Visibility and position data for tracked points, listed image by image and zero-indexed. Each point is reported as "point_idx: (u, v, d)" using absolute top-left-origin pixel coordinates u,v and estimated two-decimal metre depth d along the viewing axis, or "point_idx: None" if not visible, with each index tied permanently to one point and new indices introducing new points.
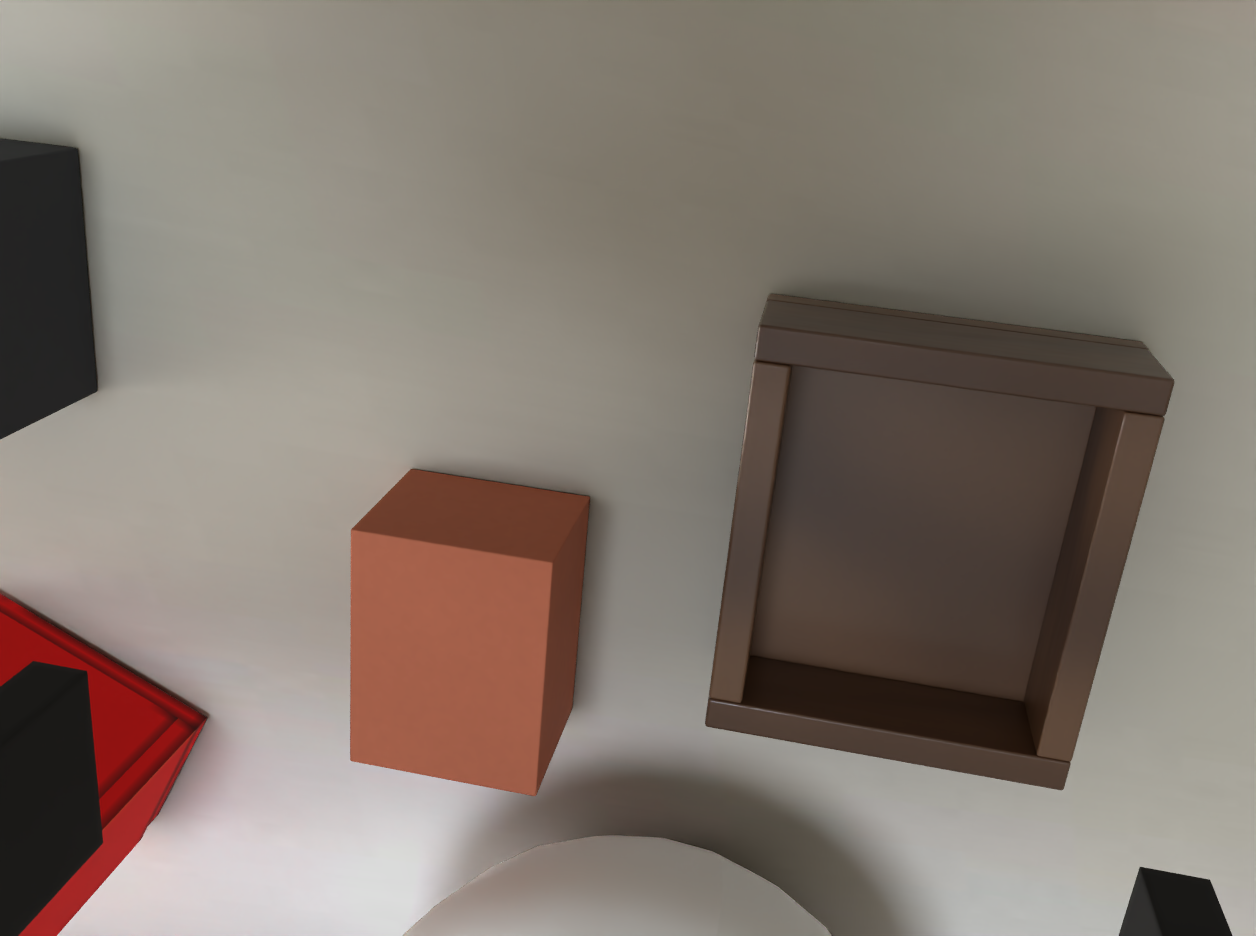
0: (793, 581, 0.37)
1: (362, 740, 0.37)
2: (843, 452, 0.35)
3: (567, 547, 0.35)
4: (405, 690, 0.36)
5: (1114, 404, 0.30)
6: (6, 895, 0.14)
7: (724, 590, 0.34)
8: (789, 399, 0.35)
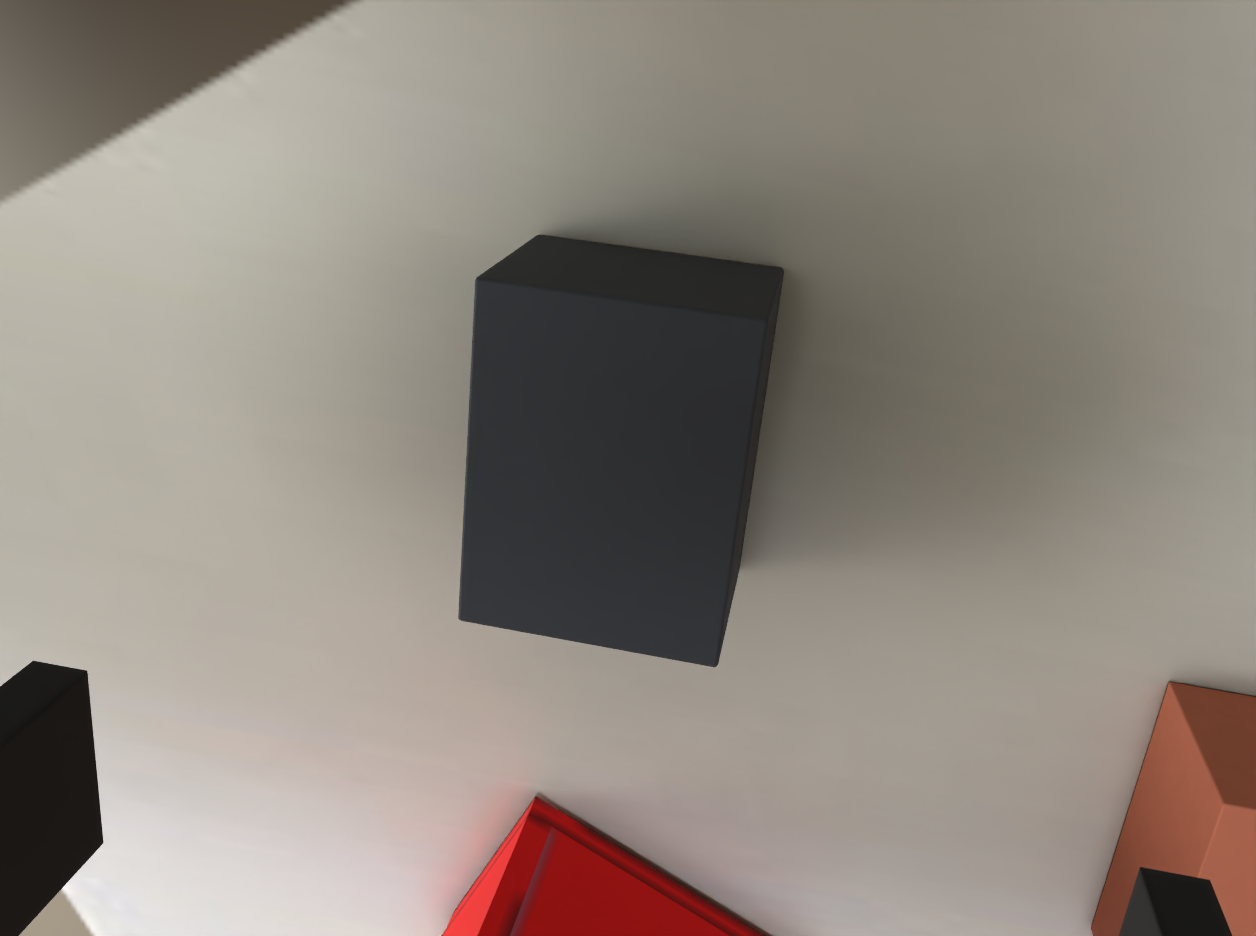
0: None
1: None
2: None
3: None
4: None
5: None
6: (6, 895, 0.14)
7: None
8: None
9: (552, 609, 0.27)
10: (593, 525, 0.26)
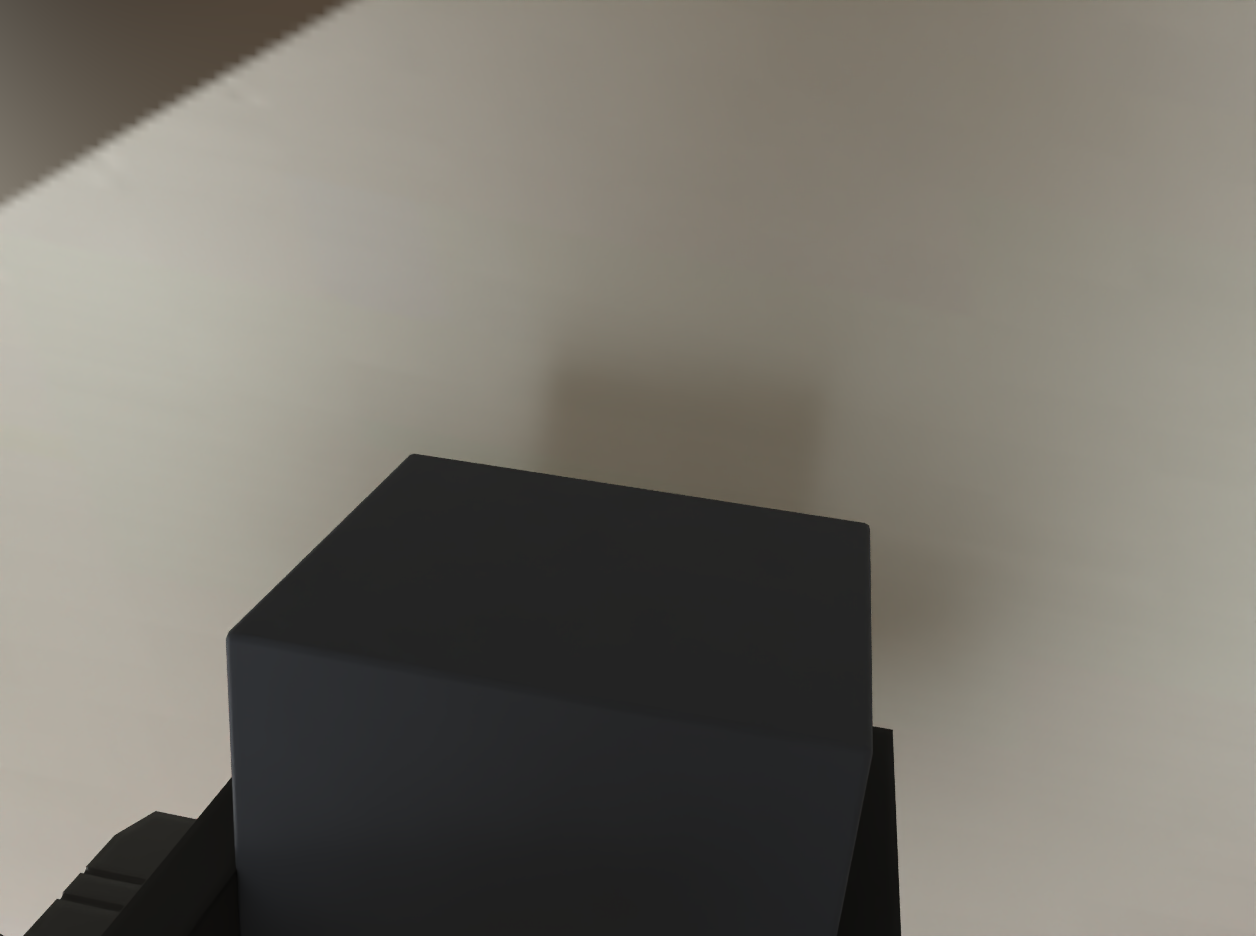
0: None
1: None
2: None
3: None
4: None
5: None
6: None
7: None
8: None
9: None
10: None
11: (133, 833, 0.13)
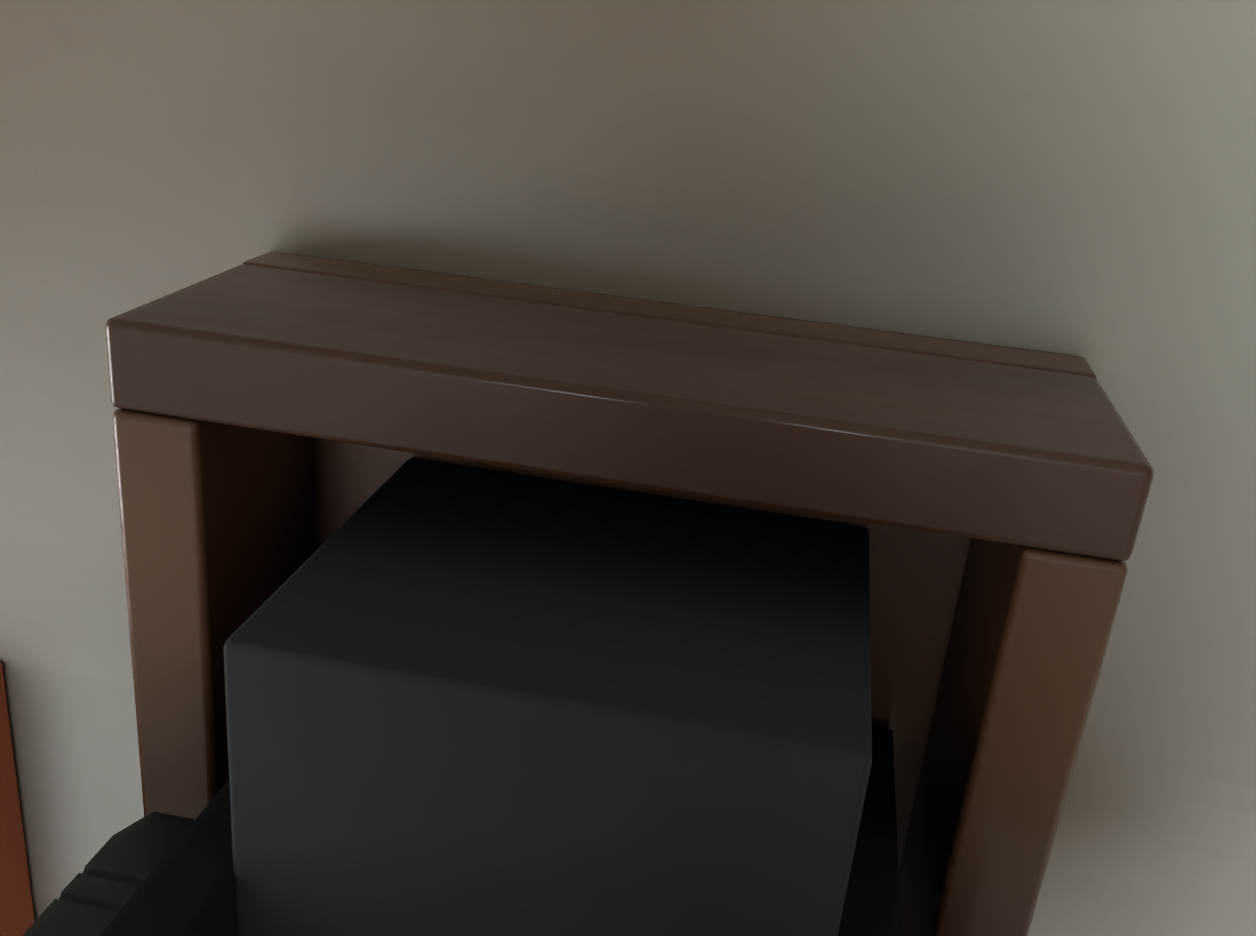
0: None
1: None
2: None
3: None
4: None
5: (994, 530, 0.11)
6: None
7: None
8: (320, 482, 0.16)
9: None
10: None
11: (132, 833, 0.13)
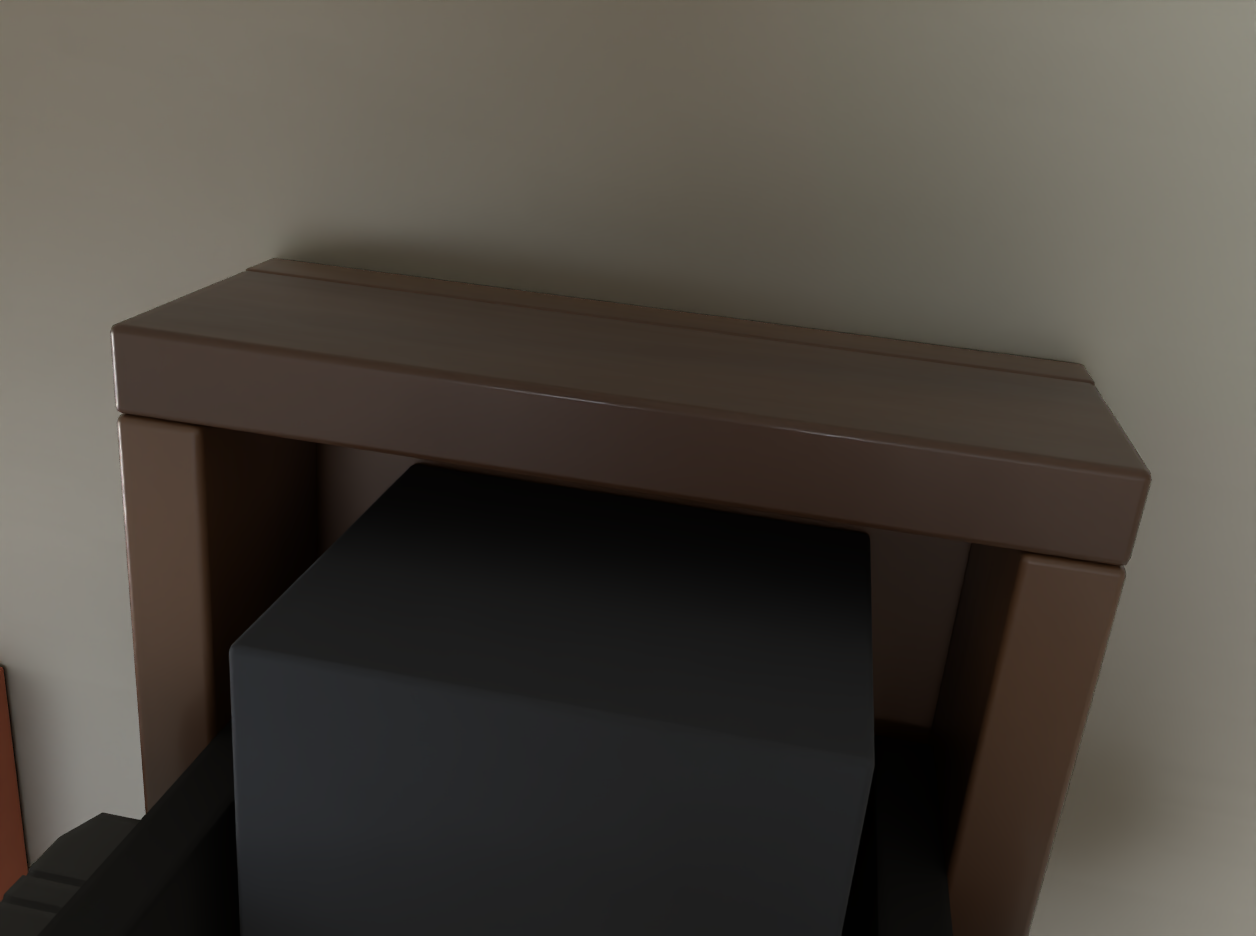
0: None
1: None
2: None
3: None
4: None
5: (994, 535, 0.11)
6: None
7: None
8: (322, 488, 0.16)
9: None
10: None
11: (78, 835, 0.13)
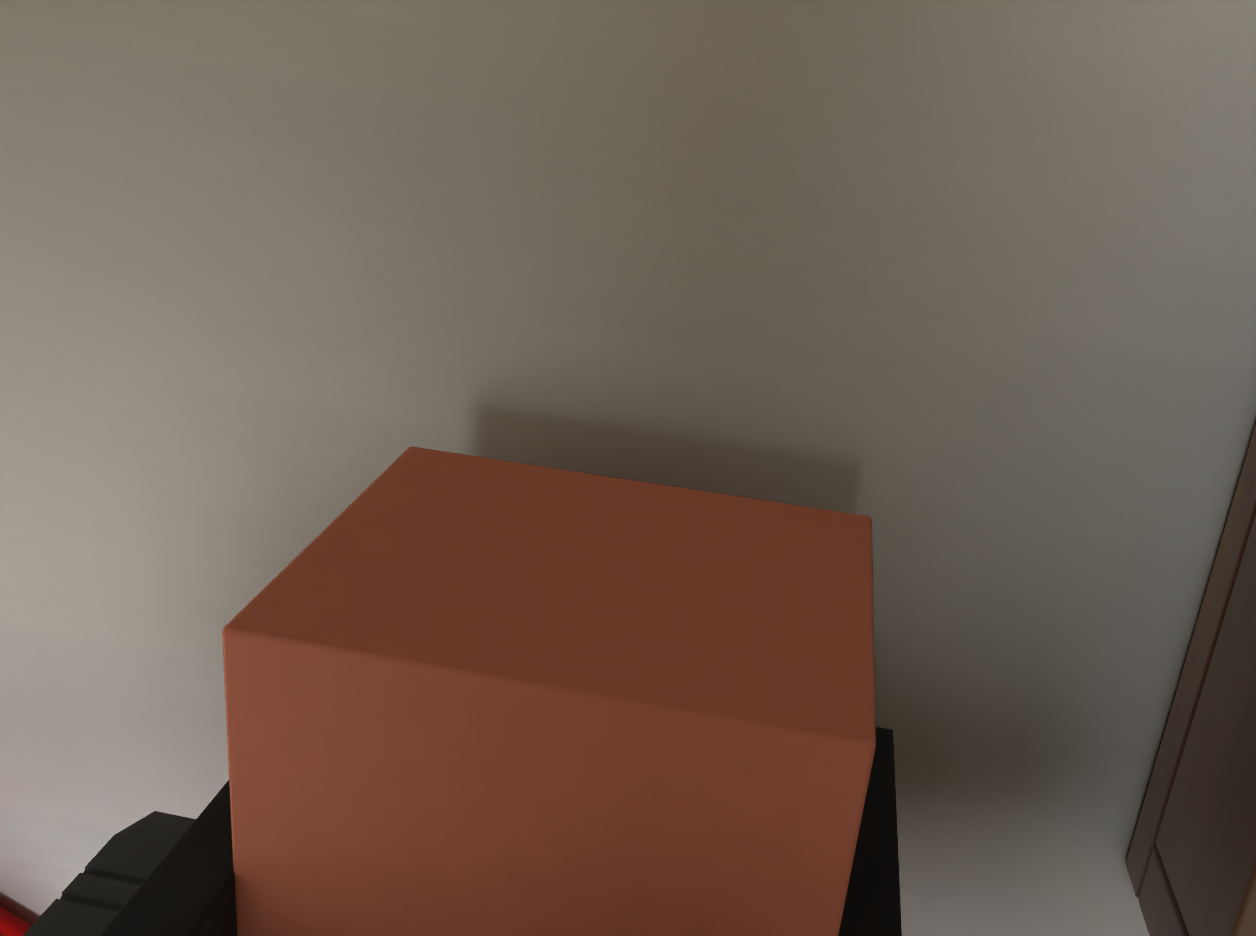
0: None
1: None
2: None
3: None
4: None
5: None
6: None
7: None
8: None
9: None
10: None
11: (132, 833, 0.13)
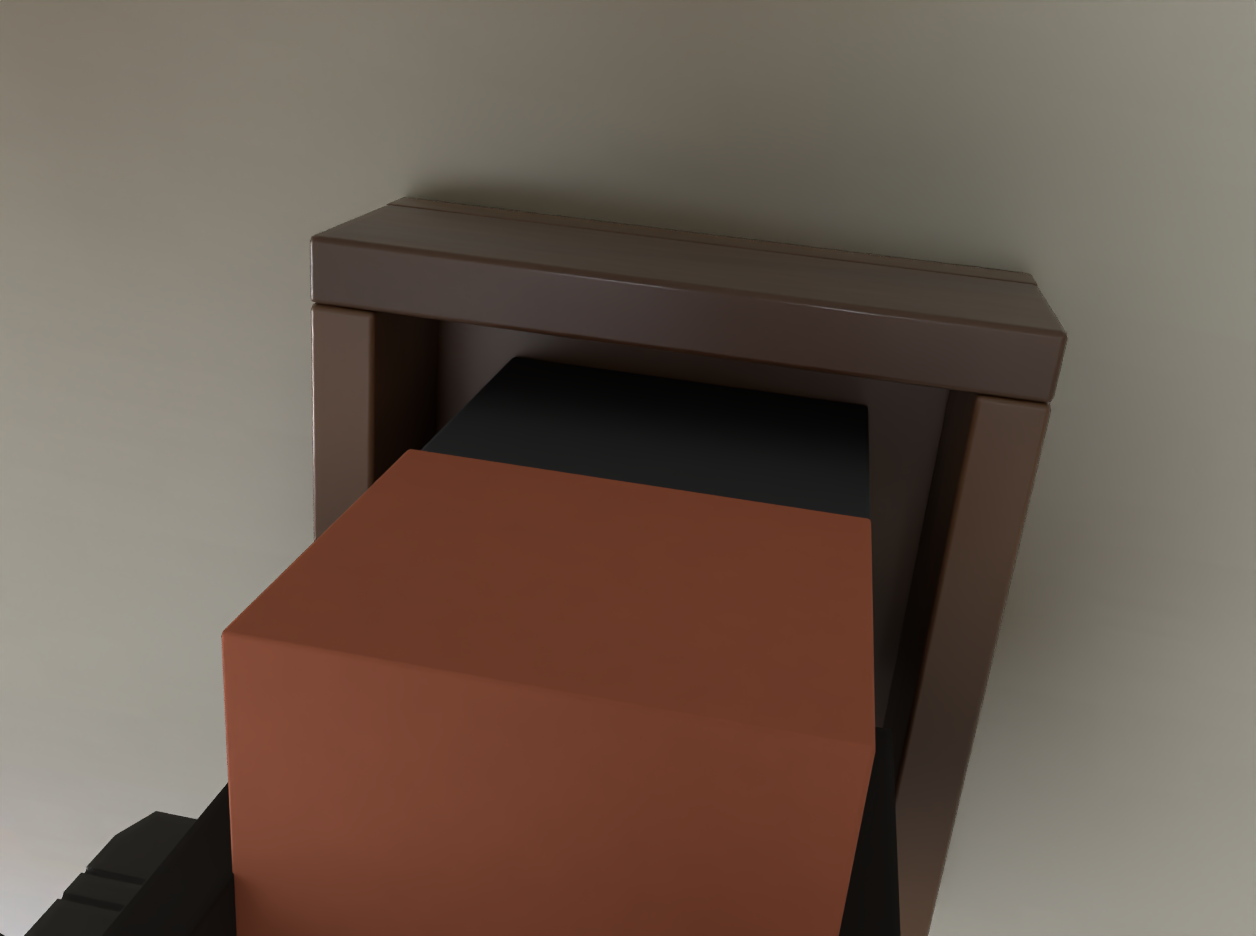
0: None
1: None
2: None
3: None
4: None
5: (956, 381, 0.16)
6: None
7: None
8: (440, 377, 0.21)
9: None
10: None
11: (133, 833, 0.13)
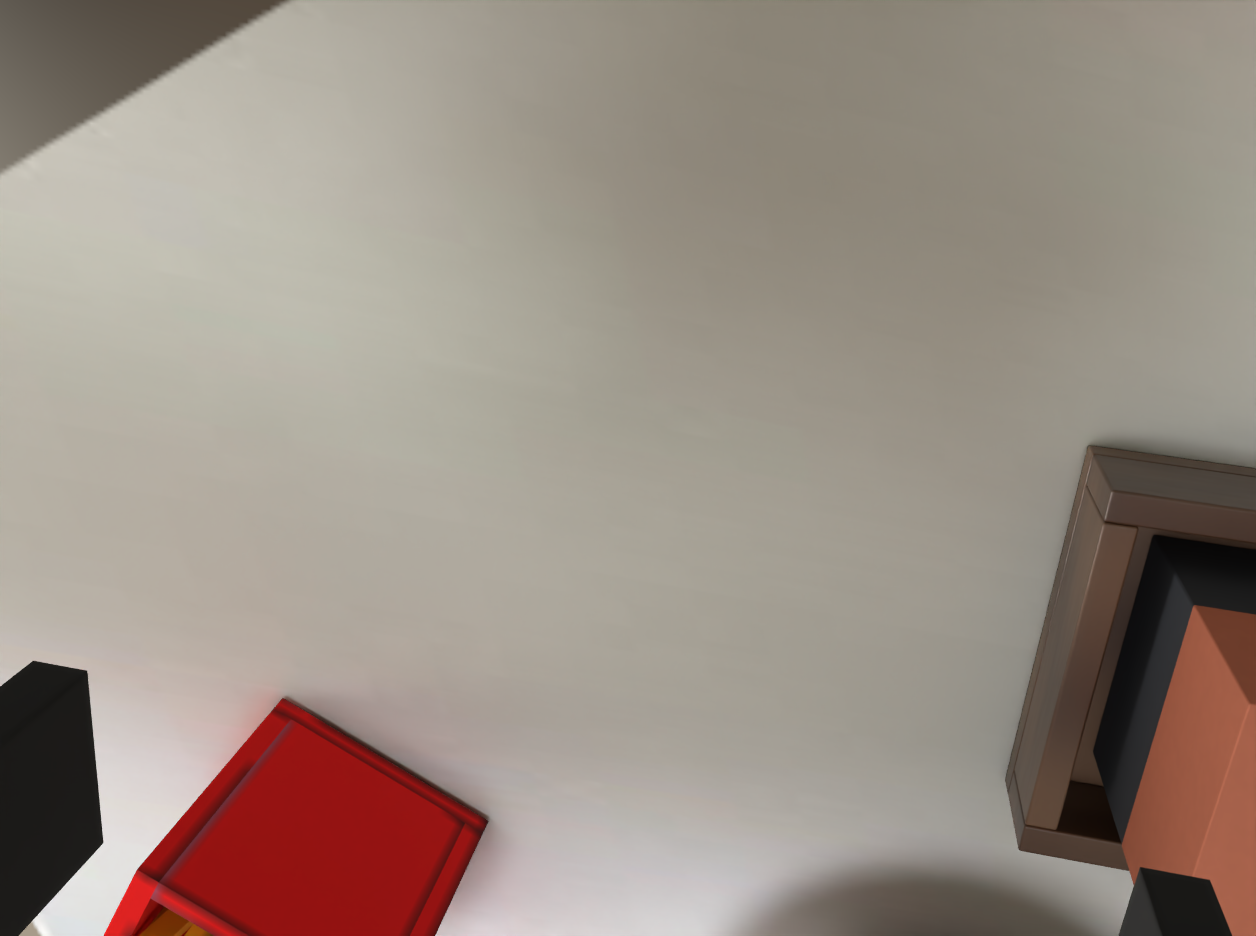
0: (1093, 709, 0.39)
1: None
2: None
3: None
4: None
5: None
6: (6, 895, 0.14)
7: (1051, 727, 0.36)
8: None
9: None
10: None
11: None
